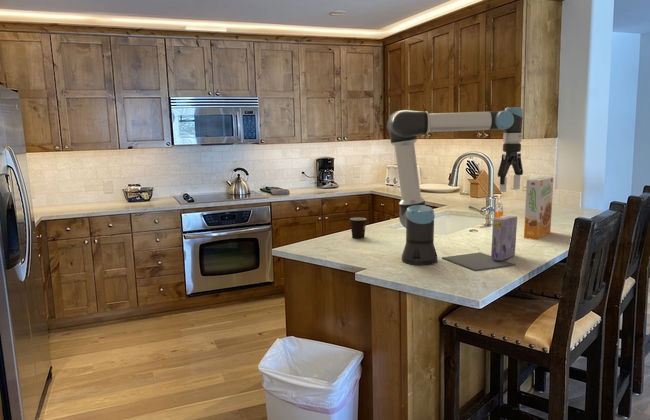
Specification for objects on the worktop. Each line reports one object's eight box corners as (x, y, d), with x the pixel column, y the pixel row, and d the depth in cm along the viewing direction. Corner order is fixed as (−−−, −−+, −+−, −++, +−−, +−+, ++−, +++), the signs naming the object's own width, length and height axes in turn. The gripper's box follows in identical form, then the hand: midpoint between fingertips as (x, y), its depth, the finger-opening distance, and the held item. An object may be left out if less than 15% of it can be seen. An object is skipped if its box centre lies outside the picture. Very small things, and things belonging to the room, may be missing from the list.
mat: (475, 271, 199) (475, 269, 199) (442, 258, 219) (442, 257, 219) (515, 265, 207) (515, 263, 207) (479, 253, 227) (479, 252, 227)
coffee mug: (358, 240, 259) (358, 221, 257) (346, 237, 265) (346, 218, 264) (373, 236, 266) (373, 218, 265) (362, 234, 273) (362, 216, 271)
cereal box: (536, 239, 254) (539, 180, 249) (523, 237, 258) (526, 179, 253) (550, 232, 271) (553, 176, 266) (538, 230, 275) (541, 176, 270)
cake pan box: (505, 253, 227) (508, 214, 224) (516, 254, 224) (519, 215, 221) (489, 260, 212) (492, 218, 210) (500, 262, 209) (504, 220, 207)
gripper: (507, 143, 211) (505, 193, 214) (532, 142, 228) (529, 188, 231) (490, 143, 216) (488, 192, 219) (516, 142, 233) (514, 187, 237)
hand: (509, 190), depth 225 cm, fingers open, 13 cm apart
